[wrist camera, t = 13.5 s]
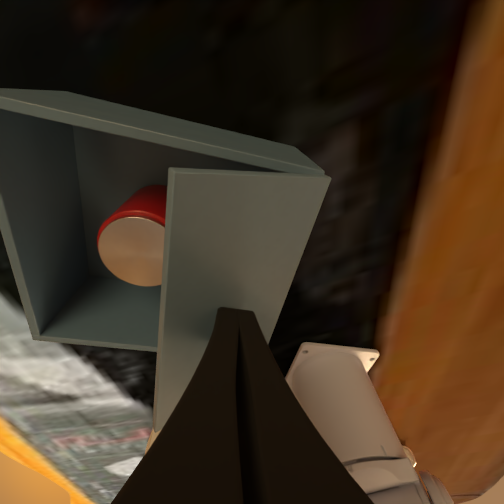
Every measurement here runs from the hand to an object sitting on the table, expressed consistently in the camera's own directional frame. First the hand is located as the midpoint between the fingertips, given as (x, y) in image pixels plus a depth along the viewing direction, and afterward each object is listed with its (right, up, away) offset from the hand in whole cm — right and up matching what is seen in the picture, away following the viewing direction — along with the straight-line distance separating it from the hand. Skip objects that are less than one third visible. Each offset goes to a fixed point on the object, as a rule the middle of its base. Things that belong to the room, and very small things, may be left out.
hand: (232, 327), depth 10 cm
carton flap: (0, 0, +1) cm, 1 cm away
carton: (-4, +5, +7) cm, 10 cm away
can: (-5, +5, +7) cm, 10 cm away
